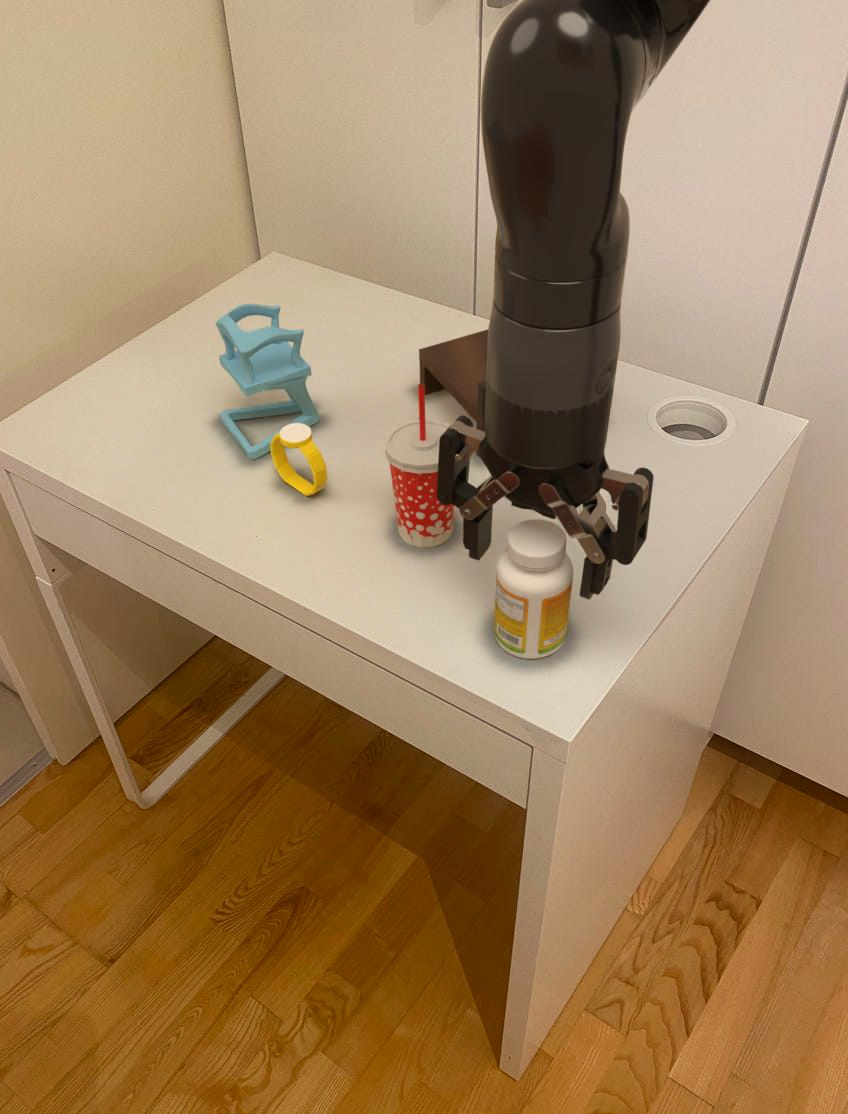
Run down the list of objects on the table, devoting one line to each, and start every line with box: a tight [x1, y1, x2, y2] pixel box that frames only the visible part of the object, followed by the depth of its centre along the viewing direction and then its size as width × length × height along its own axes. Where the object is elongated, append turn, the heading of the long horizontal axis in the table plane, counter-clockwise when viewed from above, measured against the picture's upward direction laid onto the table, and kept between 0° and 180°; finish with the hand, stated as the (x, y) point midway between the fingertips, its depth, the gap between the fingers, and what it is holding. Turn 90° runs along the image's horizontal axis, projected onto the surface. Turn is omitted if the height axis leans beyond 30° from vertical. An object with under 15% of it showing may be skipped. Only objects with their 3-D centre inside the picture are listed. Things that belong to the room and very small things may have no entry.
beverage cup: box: [383, 383, 455, 549], centre depth 78 cm, size 6×6×14 cm
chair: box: [215, 303, 320, 460], centre depth 91 cm, size 8×8×12 cm
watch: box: [270, 423, 328, 497], centre depth 86 cm, size 6×3×6 cm, turn 45°
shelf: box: [418, 329, 488, 459], centre depth 93 cm, size 12×13×8 cm
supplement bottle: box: [493, 518, 574, 660], centre depth 71 cm, size 5×5×10 cm
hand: (533, 571), depth 70 cm, fingers open, 8 cm apart
